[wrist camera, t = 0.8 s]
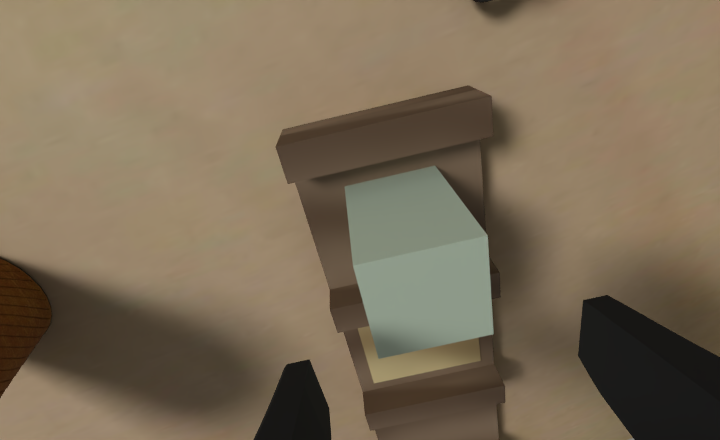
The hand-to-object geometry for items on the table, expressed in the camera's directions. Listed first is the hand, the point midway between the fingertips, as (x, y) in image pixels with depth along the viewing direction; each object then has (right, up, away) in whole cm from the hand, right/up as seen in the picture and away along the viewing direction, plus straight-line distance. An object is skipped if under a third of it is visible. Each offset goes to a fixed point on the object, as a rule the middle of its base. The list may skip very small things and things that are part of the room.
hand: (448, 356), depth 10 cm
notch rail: (+1, -3, +12) cm, 12 cm away
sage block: (-1, +4, +7) cm, 8 cm away
